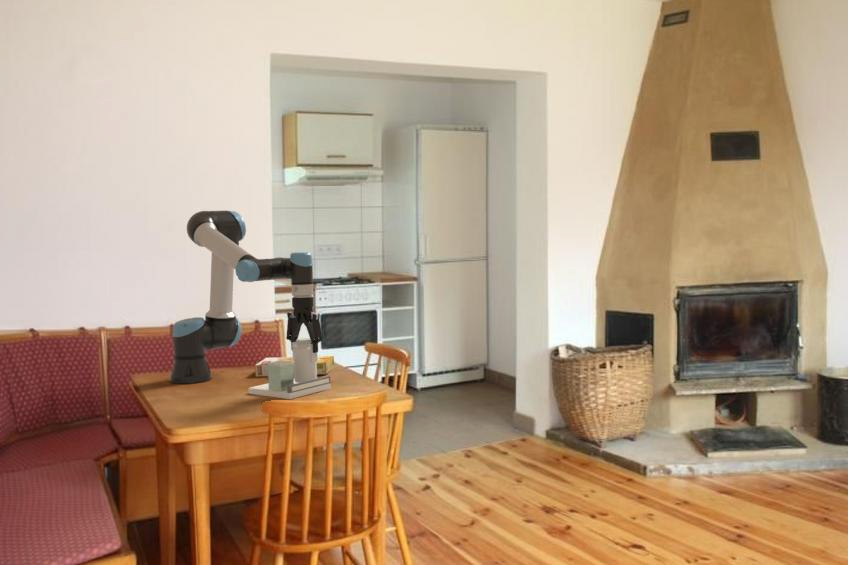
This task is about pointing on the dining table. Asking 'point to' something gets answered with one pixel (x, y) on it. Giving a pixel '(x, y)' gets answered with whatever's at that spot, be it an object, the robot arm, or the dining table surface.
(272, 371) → the tea tin
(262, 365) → the cereal box
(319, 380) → the flat white tray
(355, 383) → the dining table surface
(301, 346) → the pill bottle
